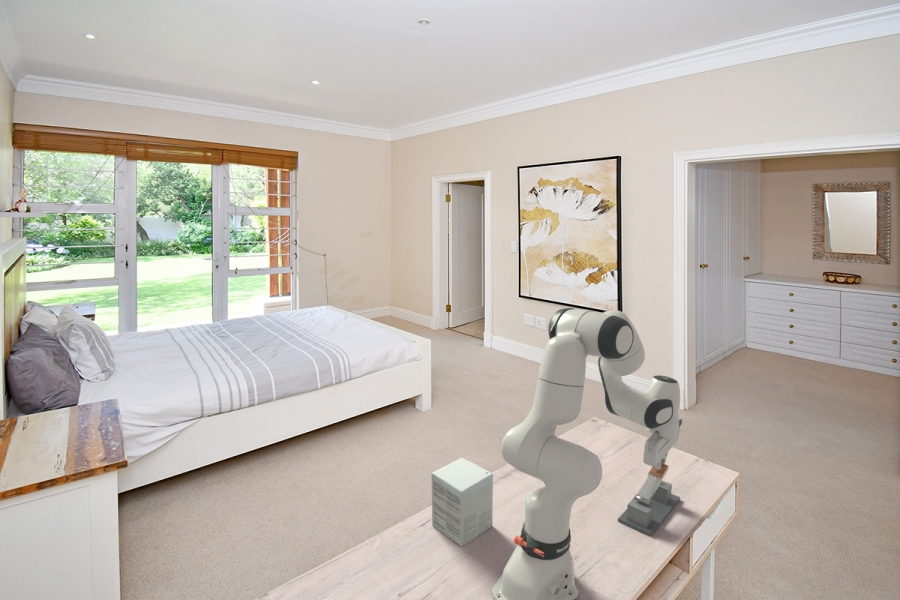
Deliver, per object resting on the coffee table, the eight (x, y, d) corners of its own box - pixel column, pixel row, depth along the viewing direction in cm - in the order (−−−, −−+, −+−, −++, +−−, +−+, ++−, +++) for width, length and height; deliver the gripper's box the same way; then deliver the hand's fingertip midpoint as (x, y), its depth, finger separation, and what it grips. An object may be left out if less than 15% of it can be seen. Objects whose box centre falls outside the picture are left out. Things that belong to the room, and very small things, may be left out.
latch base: (651, 537, 136) (653, 509, 134) (617, 521, 143) (619, 494, 141) (680, 500, 153) (682, 474, 151) (649, 487, 160) (651, 463, 158)
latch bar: (648, 506, 140) (648, 501, 139) (634, 500, 143) (633, 495, 142) (669, 469, 150) (669, 464, 149) (655, 464, 153) (655, 459, 152)
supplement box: (462, 506, 151) (462, 456, 147) (493, 526, 141) (493, 473, 138) (431, 525, 142) (430, 472, 138) (461, 547, 132) (461, 491, 129)
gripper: (660, 442, 137) (657, 484, 140) (684, 416, 151) (681, 455, 154) (638, 435, 141) (636, 476, 144) (664, 411, 155) (661, 448, 158)
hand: (660, 465), depth 149 cm, fingers closed
